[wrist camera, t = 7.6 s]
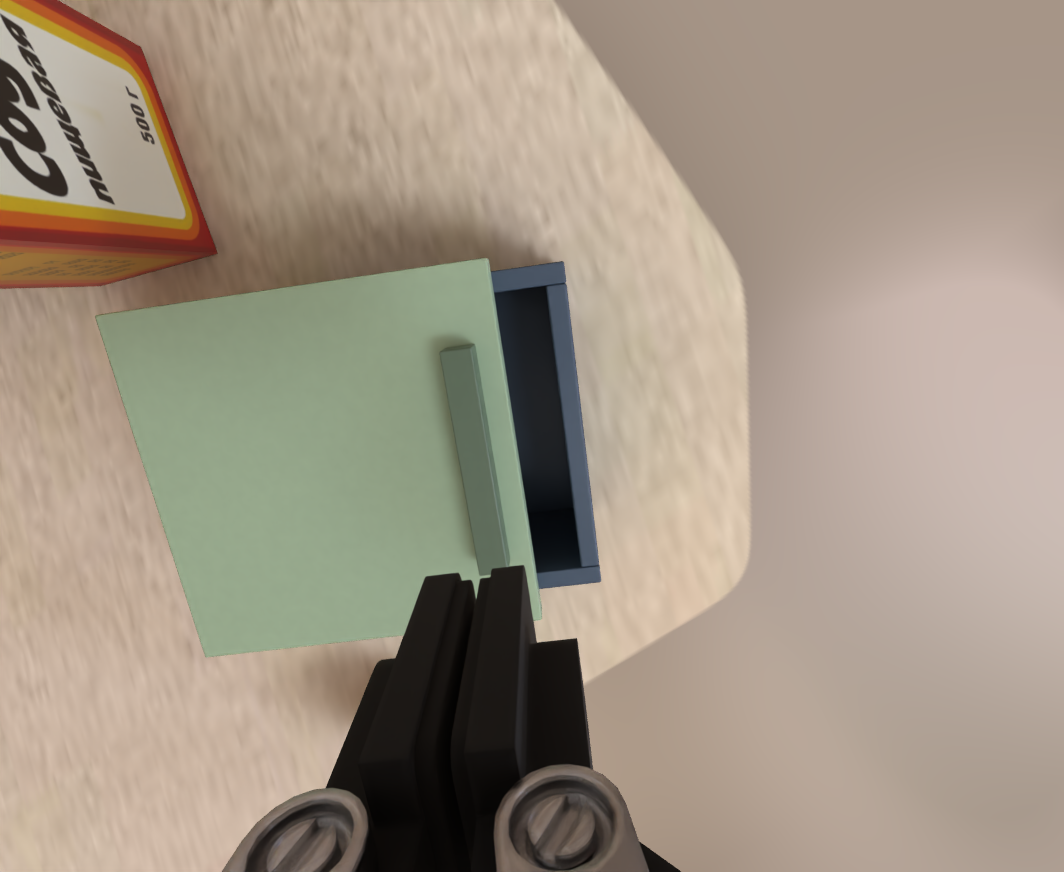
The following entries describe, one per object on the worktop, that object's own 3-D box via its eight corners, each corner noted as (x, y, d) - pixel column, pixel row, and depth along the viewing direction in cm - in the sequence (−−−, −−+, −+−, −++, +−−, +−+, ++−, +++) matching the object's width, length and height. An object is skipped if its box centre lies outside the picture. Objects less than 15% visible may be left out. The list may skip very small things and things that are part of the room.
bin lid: (112, 313, 23) (69, 317, 21) (488, 258, 23) (483, 256, 20) (217, 644, 27) (189, 675, 25) (542, 607, 26) (541, 636, 24)
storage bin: (296, 301, 31) (218, 310, 23) (559, 264, 30) (563, 260, 22) (352, 542, 34) (299, 615, 27) (589, 514, 33) (601, 582, 26)
